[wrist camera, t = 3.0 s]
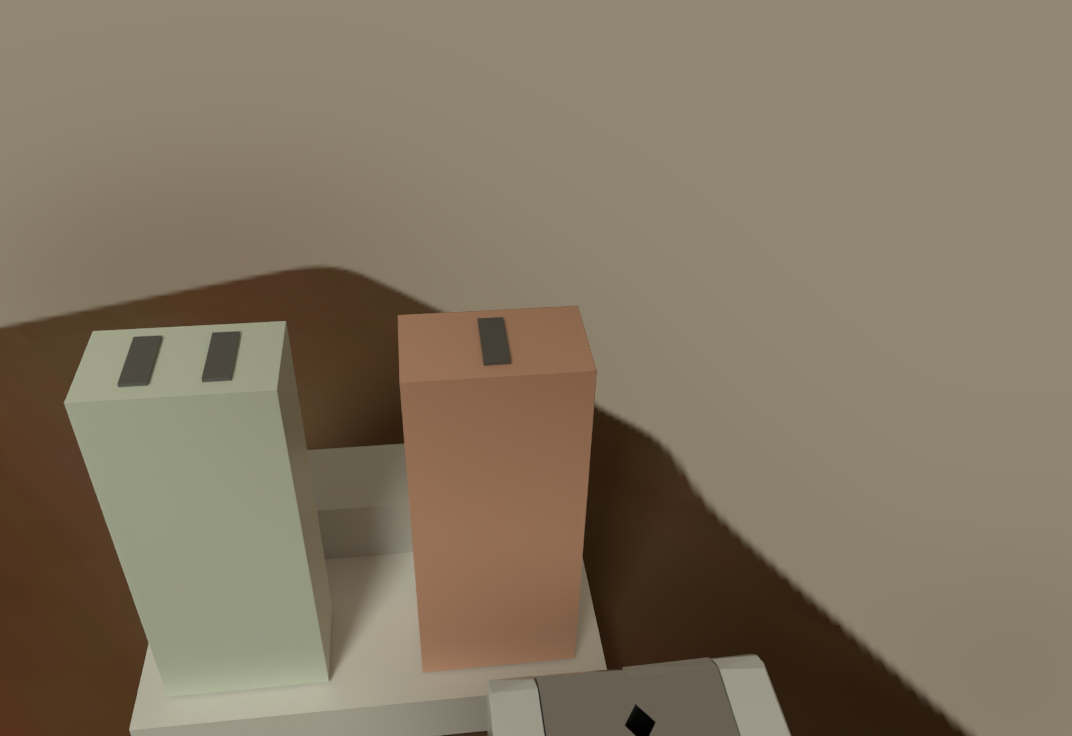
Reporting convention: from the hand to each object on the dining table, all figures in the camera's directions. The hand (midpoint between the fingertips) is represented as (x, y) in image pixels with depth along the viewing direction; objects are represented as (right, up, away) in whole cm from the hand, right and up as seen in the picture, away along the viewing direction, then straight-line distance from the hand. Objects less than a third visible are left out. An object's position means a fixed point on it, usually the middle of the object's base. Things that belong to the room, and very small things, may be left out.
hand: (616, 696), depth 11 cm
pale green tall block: (-10, -6, +21) cm, 24 cm away
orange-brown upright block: (-2, -5, +22) cm, 23 cm away
